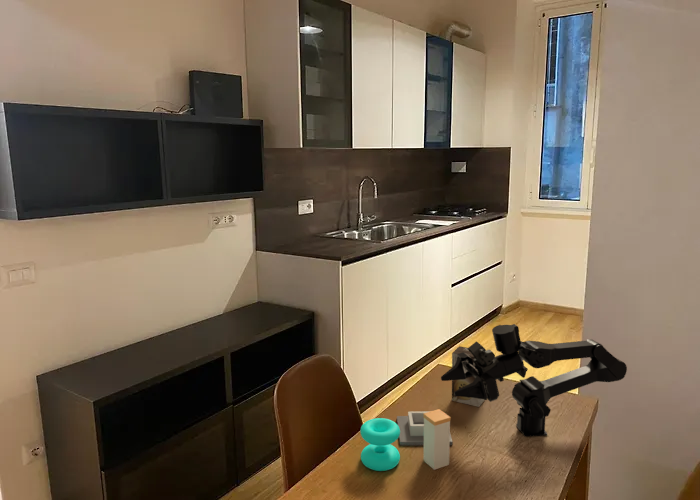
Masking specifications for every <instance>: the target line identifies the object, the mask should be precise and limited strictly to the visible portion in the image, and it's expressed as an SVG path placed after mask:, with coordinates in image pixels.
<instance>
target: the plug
mask: <svg viewBox="0 0 700 500" xmlns="http://www.w3.org/2000/svg"><path fill="white" fill-rule="evenodd" d="M423 417H424V445H423V462H424V463H426V464H427V465H428V466H429V467H431V468H432V470H434V471H435V470H437V469H440V468H443V467H446V466H449V465H450V446H451V445H450V435H451V432H450V431H451V429H450V428H451V419H452V417H451V416H450V415H448V414H447V413H445V412H444V411H442V410H441V409H440V408H438V409H435V410H430V412H427V413H423Z"/></svg>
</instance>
